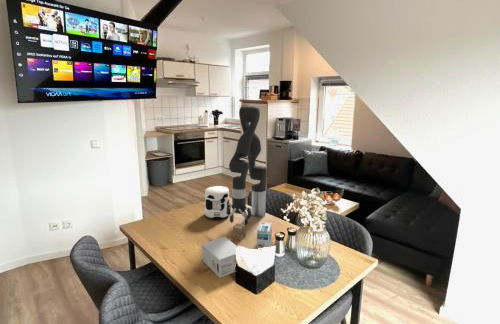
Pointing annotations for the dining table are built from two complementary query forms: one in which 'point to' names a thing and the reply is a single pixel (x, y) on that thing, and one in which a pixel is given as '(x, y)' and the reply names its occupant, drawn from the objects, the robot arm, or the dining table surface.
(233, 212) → the robot arm
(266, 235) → the light bulb box
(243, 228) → the walnut block
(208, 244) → the supplement box
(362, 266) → the dining table surface
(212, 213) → the milk container
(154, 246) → the dining table surface
